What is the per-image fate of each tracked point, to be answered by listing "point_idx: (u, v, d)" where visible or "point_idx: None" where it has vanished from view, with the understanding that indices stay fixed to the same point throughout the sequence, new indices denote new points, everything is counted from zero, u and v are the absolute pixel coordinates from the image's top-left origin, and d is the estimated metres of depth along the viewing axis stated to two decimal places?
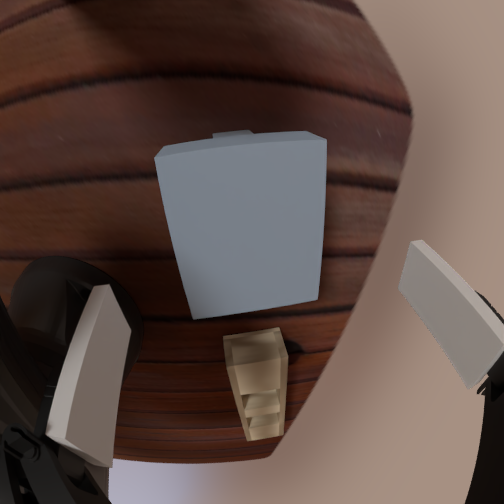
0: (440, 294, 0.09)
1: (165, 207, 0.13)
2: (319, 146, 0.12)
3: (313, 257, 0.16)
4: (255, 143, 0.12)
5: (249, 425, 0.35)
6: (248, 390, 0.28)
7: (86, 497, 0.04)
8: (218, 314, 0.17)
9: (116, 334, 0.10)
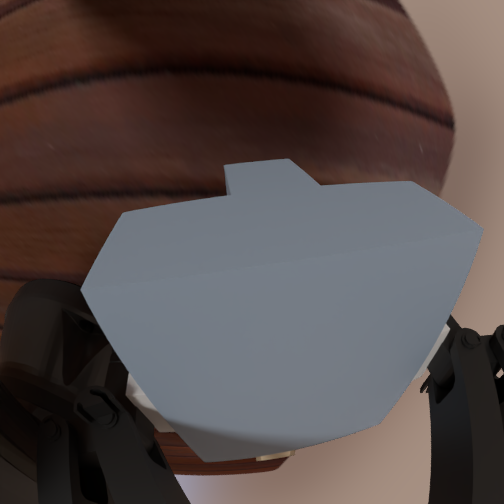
0: None
1: (135, 377, 0.05)
2: (471, 243, 0.05)
3: (394, 394, 0.08)
4: (361, 247, 0.04)
5: None
6: None
7: (159, 471, 0.05)
8: (241, 458, 0.09)
9: None
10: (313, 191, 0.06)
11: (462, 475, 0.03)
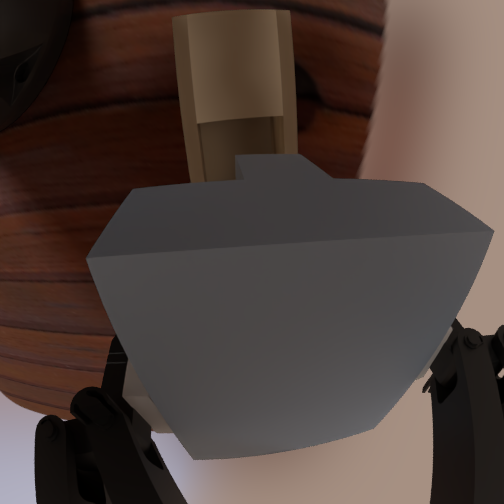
0: None
1: (133, 363, 0.05)
2: (482, 244, 0.05)
3: (393, 397, 0.08)
4: (384, 235, 0.04)
5: None
6: (213, 105, 0.13)
7: (156, 472, 0.05)
8: (232, 457, 0.09)
9: None
10: (330, 182, 0.06)
11: (464, 475, 0.03)
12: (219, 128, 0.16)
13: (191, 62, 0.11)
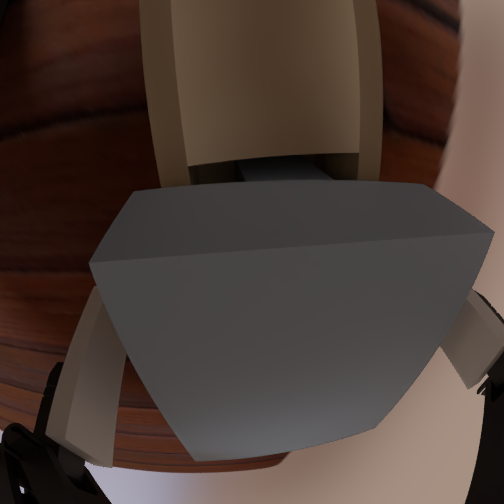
0: None
1: (136, 366, 0.05)
2: (482, 245, 0.05)
3: (394, 397, 0.08)
4: (386, 237, 0.04)
5: None
6: (222, 127, 0.06)
7: (86, 497, 0.04)
8: (234, 458, 0.09)
9: (116, 334, 0.10)
10: (331, 184, 0.06)
11: None
12: (230, 161, 0.10)
13: (174, 34, 0.05)
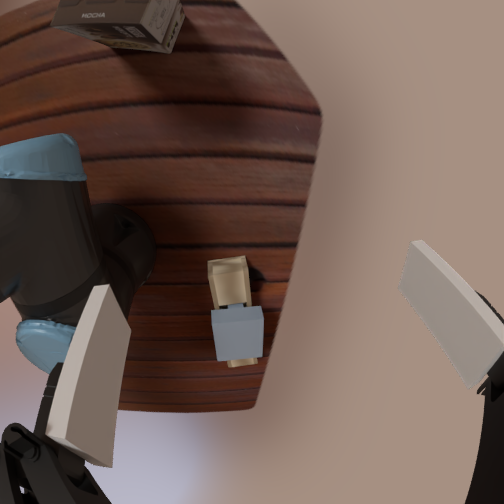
0: (440, 294, 0.09)
1: None
2: (261, 320, 0.42)
3: (259, 345, 0.46)
4: (241, 320, 0.42)
5: None
6: (224, 301, 0.44)
7: (86, 497, 0.04)
8: (226, 360, 0.47)
9: (116, 334, 0.10)
10: (240, 309, 0.44)
11: None
12: None
13: (216, 290, 0.42)
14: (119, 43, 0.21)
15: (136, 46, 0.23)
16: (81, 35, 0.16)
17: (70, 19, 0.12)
